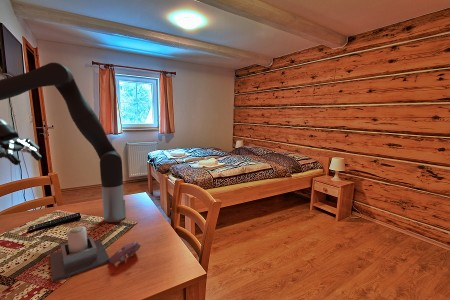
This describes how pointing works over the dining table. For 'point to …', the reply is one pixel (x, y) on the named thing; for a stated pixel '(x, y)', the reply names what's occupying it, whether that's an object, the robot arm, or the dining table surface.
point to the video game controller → (124, 252)
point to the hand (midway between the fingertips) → (29, 161)
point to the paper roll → (77, 239)
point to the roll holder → (77, 260)
